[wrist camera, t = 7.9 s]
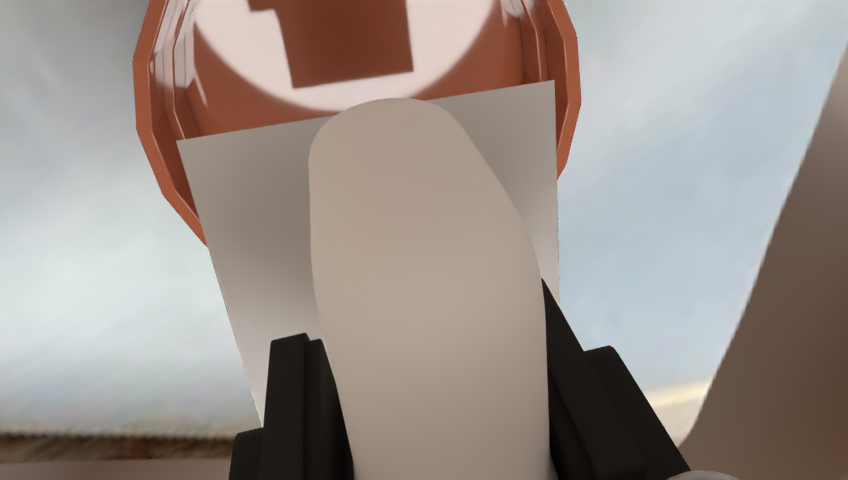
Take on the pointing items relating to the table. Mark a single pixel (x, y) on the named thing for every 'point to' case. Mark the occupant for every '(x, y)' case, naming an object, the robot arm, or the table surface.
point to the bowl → (333, 65)
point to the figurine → (400, 270)
